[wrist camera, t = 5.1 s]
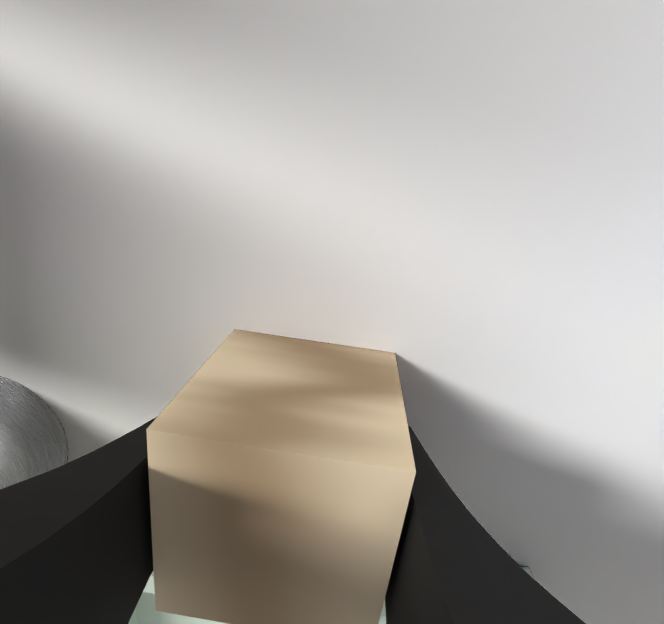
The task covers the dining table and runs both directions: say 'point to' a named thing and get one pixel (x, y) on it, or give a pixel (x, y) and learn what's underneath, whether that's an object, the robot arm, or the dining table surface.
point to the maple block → (280, 484)
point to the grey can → (27, 435)
